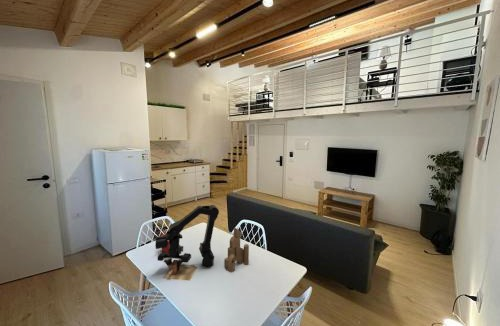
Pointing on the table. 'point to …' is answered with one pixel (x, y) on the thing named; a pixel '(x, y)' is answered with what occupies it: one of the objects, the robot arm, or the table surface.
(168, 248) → the plant pot
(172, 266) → the brown block with peg
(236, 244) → the wooden toy
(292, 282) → the table surface
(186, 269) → the board
